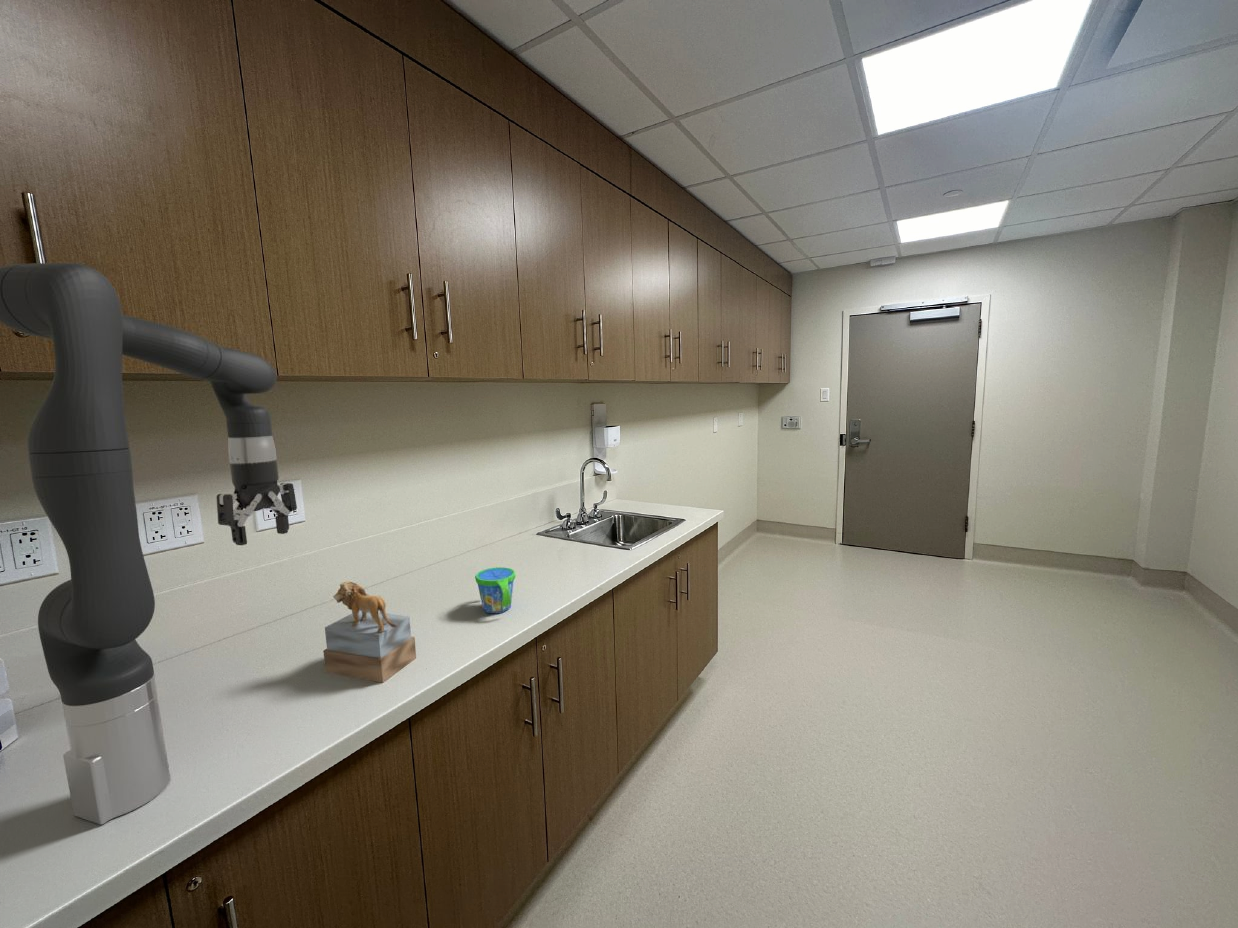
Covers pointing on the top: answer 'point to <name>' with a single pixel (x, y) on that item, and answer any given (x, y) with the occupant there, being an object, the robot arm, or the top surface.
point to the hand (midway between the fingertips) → (263, 538)
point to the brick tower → (368, 647)
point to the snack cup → (496, 588)
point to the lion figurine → (362, 604)
